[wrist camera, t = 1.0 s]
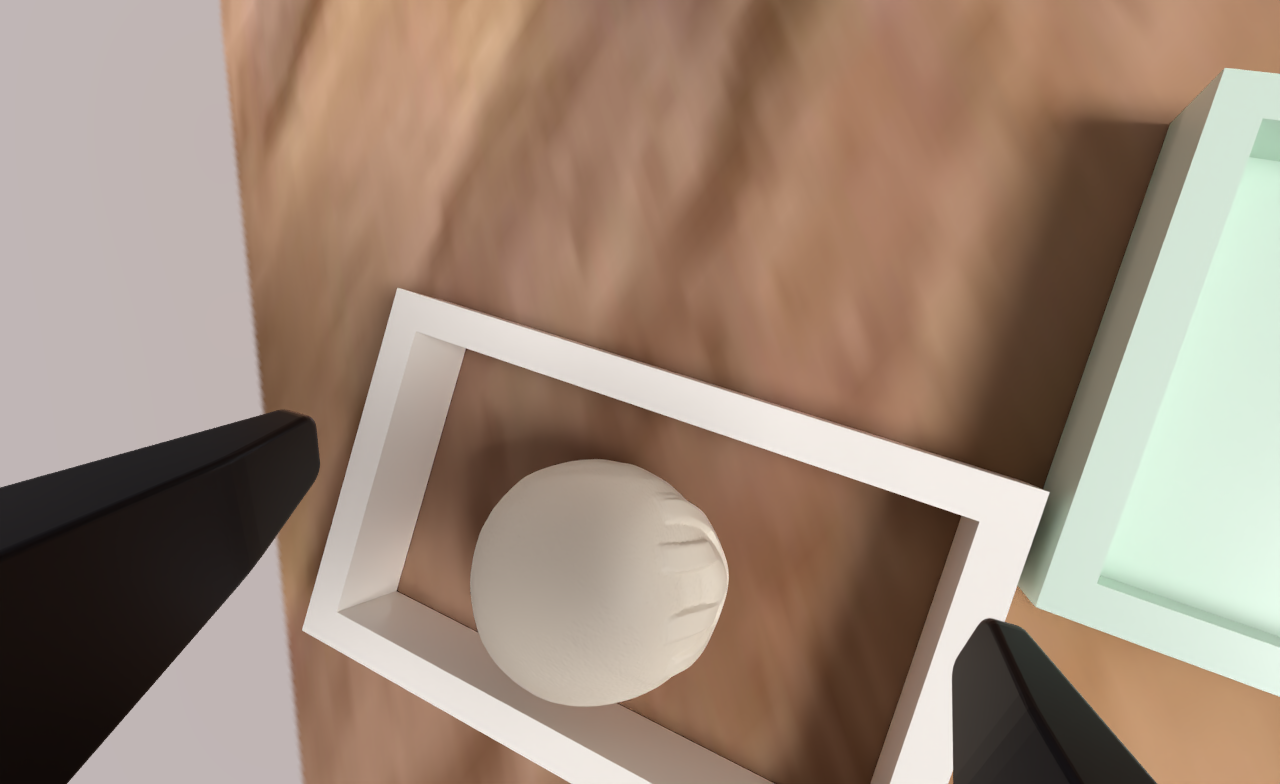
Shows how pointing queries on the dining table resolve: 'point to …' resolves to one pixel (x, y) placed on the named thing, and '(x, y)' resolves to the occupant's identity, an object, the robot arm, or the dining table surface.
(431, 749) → the dining table surface
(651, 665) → the steamed bun
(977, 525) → the shallow gray planter box
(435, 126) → the dining table surface
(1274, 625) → the tray
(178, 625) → the robot arm
